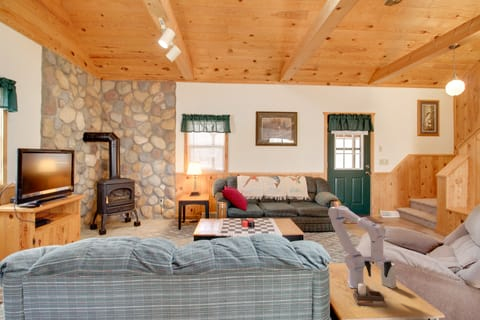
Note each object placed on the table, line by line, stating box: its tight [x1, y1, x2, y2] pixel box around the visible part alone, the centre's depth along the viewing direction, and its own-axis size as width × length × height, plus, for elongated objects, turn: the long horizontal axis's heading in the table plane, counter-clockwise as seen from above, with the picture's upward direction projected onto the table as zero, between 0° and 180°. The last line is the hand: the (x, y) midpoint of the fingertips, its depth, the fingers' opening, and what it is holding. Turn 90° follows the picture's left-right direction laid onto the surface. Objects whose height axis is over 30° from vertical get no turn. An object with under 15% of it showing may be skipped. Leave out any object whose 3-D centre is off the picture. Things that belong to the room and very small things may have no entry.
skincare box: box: [380, 262, 397, 289], centre depth 153 cm, size 6×4×12 cm
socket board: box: [352, 289, 388, 307], centre depth 136 cm, size 9×13×3 cm
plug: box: [357, 283, 367, 296], centre depth 138 cm, size 4×4×6 cm
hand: (377, 276), depth 142 cm, fingers open, 7 cm apart
